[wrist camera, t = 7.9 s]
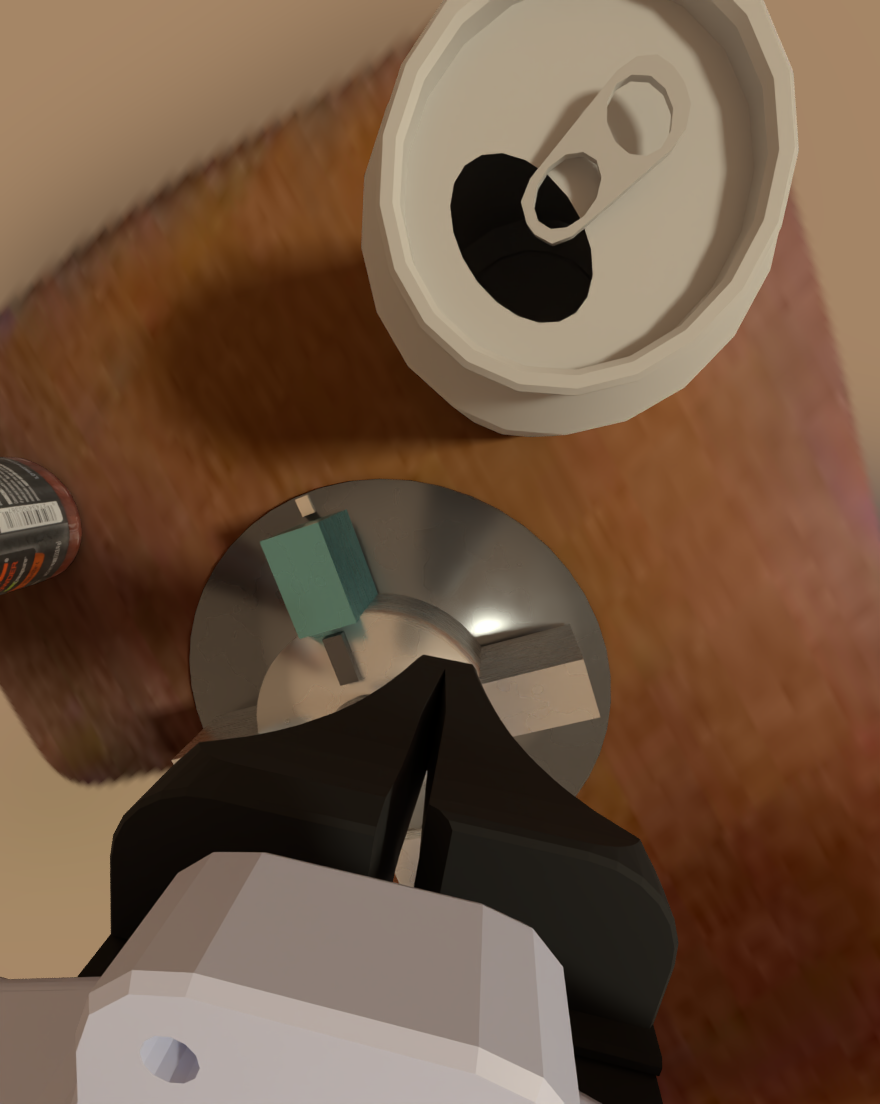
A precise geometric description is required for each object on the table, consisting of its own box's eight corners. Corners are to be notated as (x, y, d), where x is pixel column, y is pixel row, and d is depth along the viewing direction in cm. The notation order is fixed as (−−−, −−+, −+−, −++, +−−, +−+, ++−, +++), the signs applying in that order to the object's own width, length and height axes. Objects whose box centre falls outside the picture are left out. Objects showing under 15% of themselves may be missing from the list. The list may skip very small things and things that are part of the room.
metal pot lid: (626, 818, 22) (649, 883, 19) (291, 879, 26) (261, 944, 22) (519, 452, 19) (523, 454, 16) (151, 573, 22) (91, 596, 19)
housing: (568, 900, 24) (588, 1032, 19) (194, 827, 26) (115, 930, 21) (653, 510, 20) (713, 536, 14) (188, 453, 21) (83, 457, 16)
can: (393, 328, 19) (233, 157, 8) (546, 180, 17) (646, -340, 6) (511, 475, 20) (531, 526, 8) (668, 347, 18) (974, 185, 7)
